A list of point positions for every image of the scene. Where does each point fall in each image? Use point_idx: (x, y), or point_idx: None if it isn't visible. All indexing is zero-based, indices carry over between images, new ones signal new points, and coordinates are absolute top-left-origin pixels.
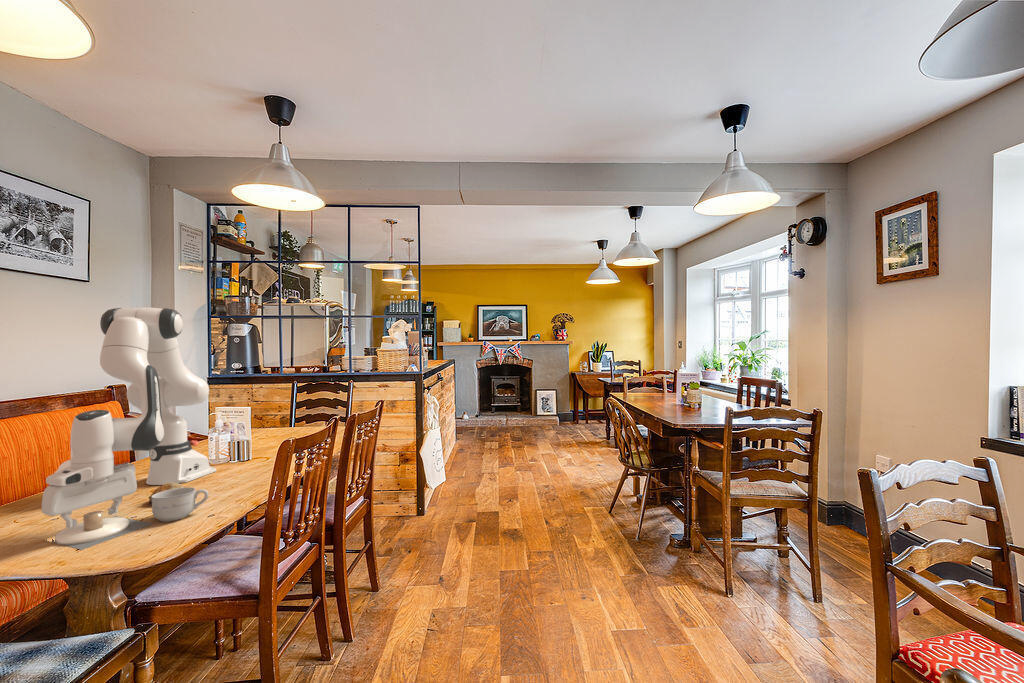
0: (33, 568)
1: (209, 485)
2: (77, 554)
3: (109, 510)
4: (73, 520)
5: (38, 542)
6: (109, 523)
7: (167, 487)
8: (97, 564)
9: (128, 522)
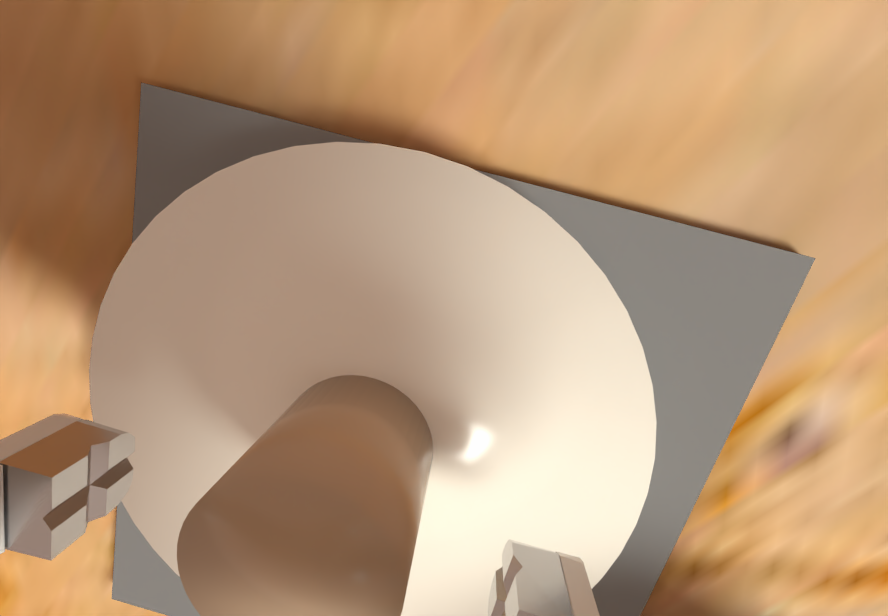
0: None
1: None
2: (86, 598)
3: (507, 610)
4: (16, 543)
5: (131, 80)
6: (480, 498)
7: None
8: None
9: None
